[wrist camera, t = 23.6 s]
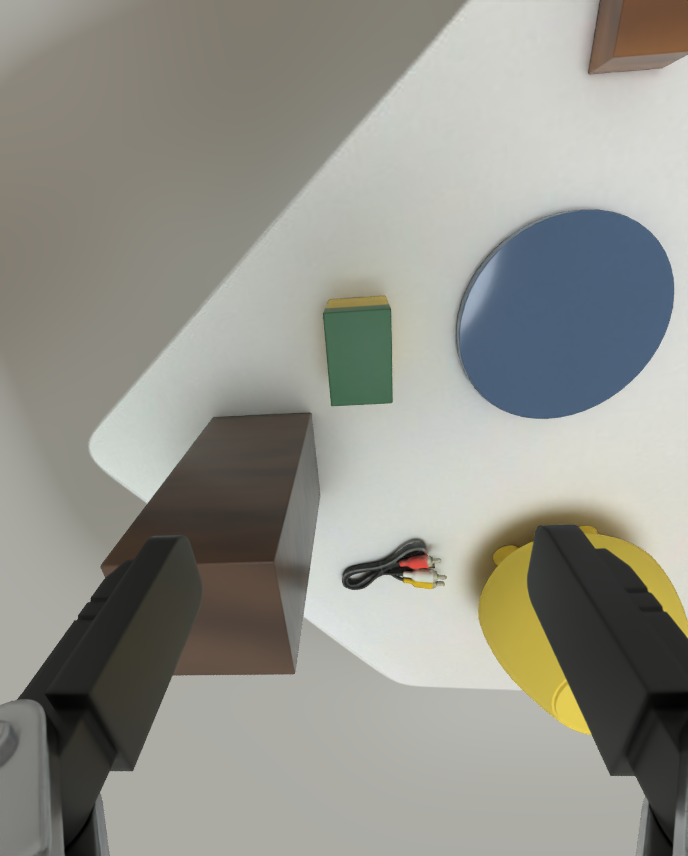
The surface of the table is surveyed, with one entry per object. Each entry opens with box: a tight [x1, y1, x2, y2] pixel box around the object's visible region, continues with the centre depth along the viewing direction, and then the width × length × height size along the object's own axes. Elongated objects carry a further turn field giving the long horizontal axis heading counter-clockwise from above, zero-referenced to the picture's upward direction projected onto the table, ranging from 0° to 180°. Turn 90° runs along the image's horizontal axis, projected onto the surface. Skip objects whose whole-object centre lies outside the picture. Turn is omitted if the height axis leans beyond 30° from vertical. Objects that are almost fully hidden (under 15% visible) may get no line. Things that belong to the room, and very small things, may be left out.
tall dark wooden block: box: [101, 413, 320, 675], centre depth 27 cm, size 8×8×16 cm
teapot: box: [478, 526, 688, 735], centre depth 34 cm, size 20×16×14 cm
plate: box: [456, 210, 674, 419], centre depth 28 cm, size 14×14×1 cm
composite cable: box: [342, 542, 447, 590], centre depth 38 cm, size 10×5×2 cm, turn 102°
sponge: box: [323, 296, 393, 406], centre depth 27 cm, size 6×4×5 cm, turn 4°
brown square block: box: [589, 0, 688, 74], centre depth 20 cm, size 4×4×2 cm
